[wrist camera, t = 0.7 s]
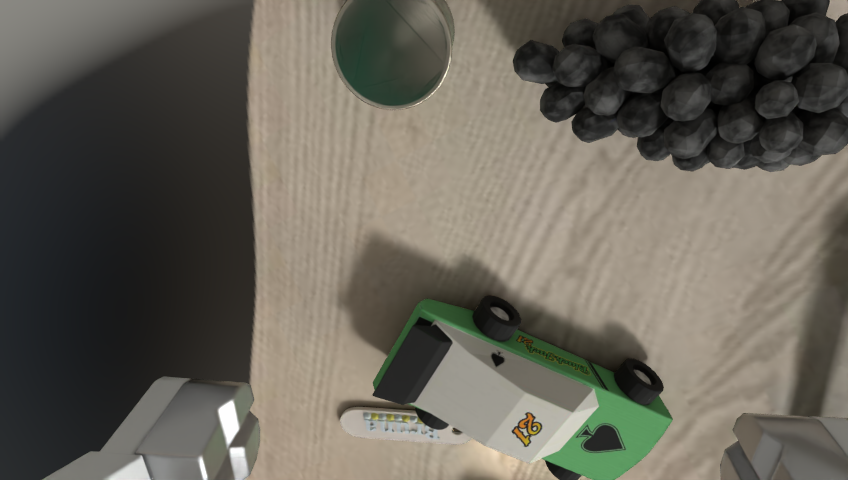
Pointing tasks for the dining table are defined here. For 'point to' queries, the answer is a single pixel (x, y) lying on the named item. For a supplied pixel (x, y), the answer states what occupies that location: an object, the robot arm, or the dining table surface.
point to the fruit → (703, 82)
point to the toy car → (522, 391)
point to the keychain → (396, 426)
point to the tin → (393, 50)
